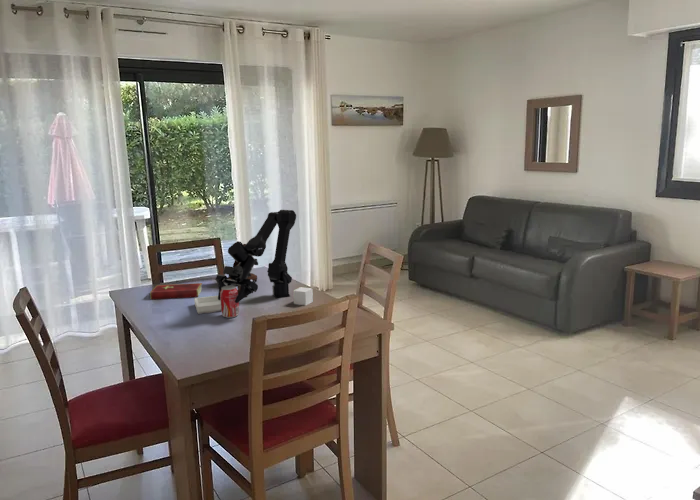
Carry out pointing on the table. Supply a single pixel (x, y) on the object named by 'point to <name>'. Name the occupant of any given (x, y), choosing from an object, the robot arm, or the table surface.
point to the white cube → (303, 296)
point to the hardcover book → (176, 291)
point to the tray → (207, 304)
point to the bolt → (239, 289)
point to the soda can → (229, 301)
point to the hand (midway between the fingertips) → (227, 301)
